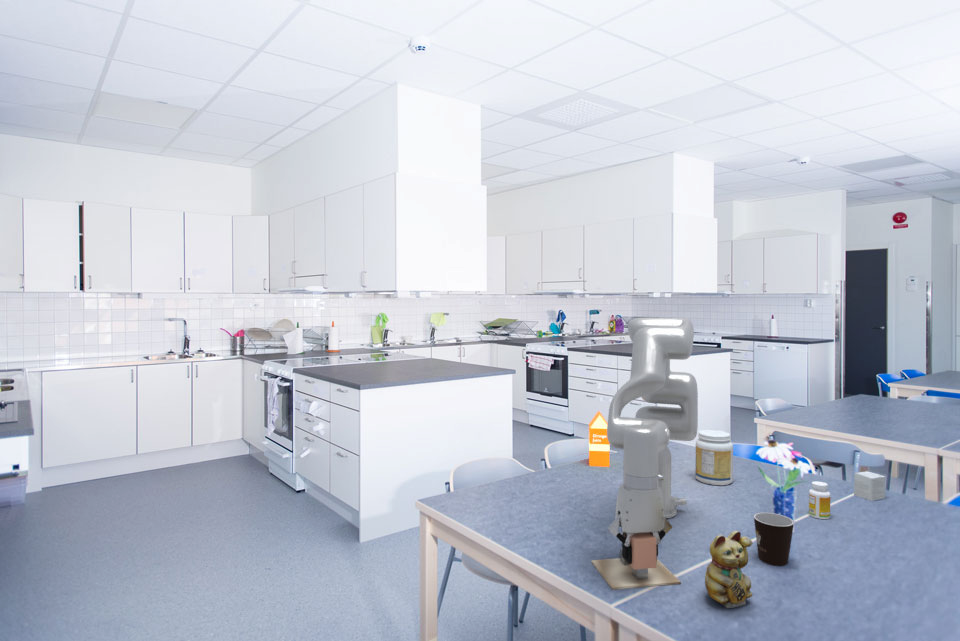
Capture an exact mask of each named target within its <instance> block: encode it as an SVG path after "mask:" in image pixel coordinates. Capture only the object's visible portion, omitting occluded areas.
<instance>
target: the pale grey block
mask: <svg viewBox="0 0 960 641" xmlns="http://www.w3.org/2000/svg"><path fill="white" fill-rule="evenodd" d="M853 475H854V478H853V480H854V481H853V496H856V497H859V498H863V499H864V500H868V501H871V502H873V501H877V500H883V499H886V476H885V475H881V474H879V473H874V472H871V471H868V470H866V471H861V472H860V471H858V472H854V474H853Z"/></svg>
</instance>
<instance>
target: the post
mask: <svg viewBox="0 0 960 641" xmlns="http://www.w3.org/2000/svg"><path fill="white" fill-rule="evenodd" d="M632 575H633V576H634V577H635V578H636V580H645V579H648V569H633V568H632Z"/></svg>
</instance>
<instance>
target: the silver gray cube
mask: <svg viewBox="0 0 960 641" xmlns="http://www.w3.org/2000/svg"><path fill="white" fill-rule="evenodd" d="M619 558H620V561H621V562H622V564H623V565H624V566H626V565H630V564H628V563H627V562H626V560H625V559H624V558H623V556H622V547H621V548H619Z"/></svg>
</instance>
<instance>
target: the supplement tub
mask: <svg viewBox="0 0 960 641" xmlns="http://www.w3.org/2000/svg"><path fill="white" fill-rule="evenodd" d="M731 440H732V439H731V433H729V432H727V431H724V430H718V429H702V430H699V431H698V434H697V439H696V441H695V478H696V479H697V481H699V482H701V483H703V484H707V485H713V486H727V485H730V484H732V482H733V481H734V444H733V442H732V441H731Z"/></svg>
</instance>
